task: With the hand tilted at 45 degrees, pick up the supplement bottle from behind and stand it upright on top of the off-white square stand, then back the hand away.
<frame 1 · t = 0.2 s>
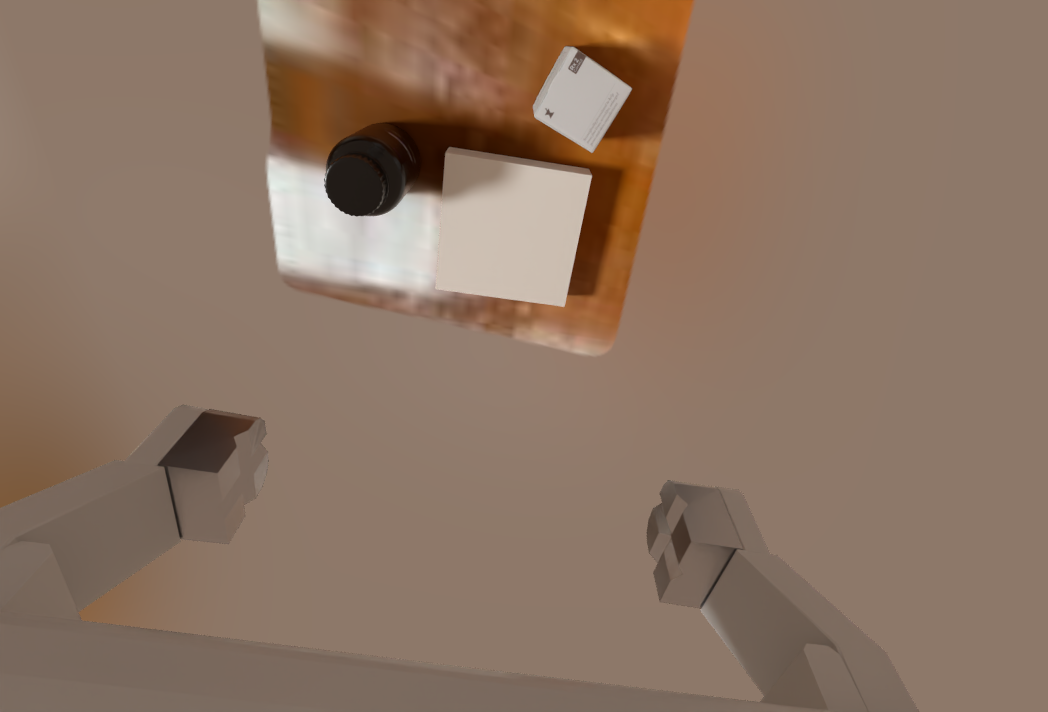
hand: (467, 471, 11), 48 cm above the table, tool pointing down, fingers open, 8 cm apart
skincare box: (575, 93, 51), on the table
supplement bottle: (387, 157, 54), on the table
stand: (509, 226, 57), on the table
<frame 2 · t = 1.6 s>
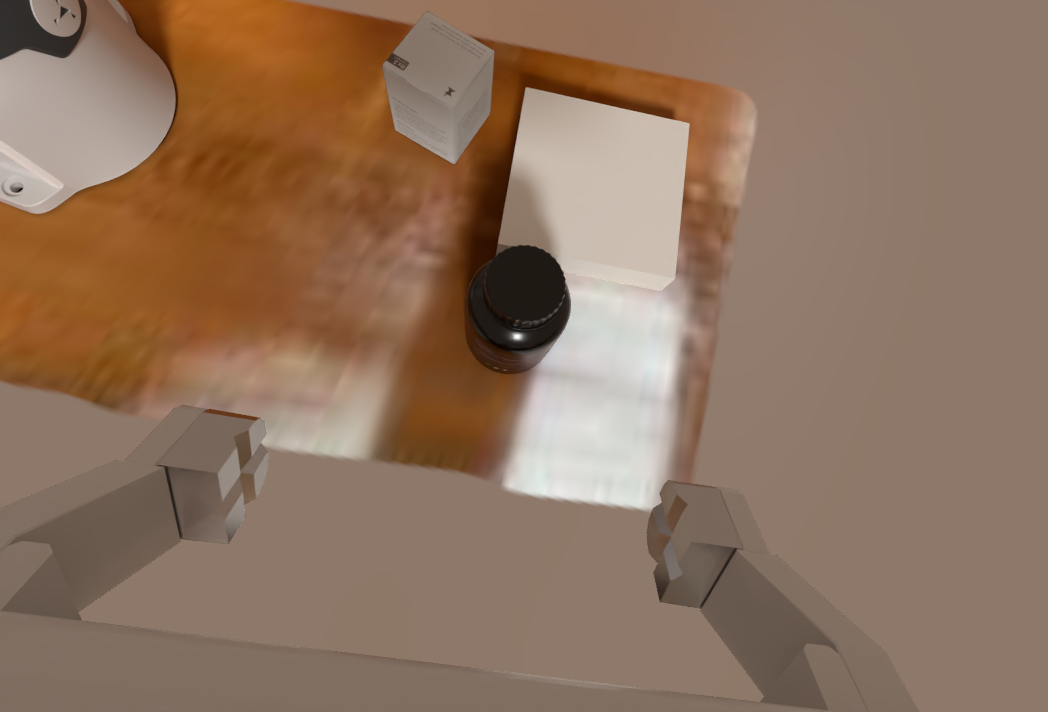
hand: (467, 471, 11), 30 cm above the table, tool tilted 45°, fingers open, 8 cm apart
skincare box: (442, 123, 46), on the table
supplement bottle: (507, 334, 43), on the table
stand: (589, 199, 46), on the table
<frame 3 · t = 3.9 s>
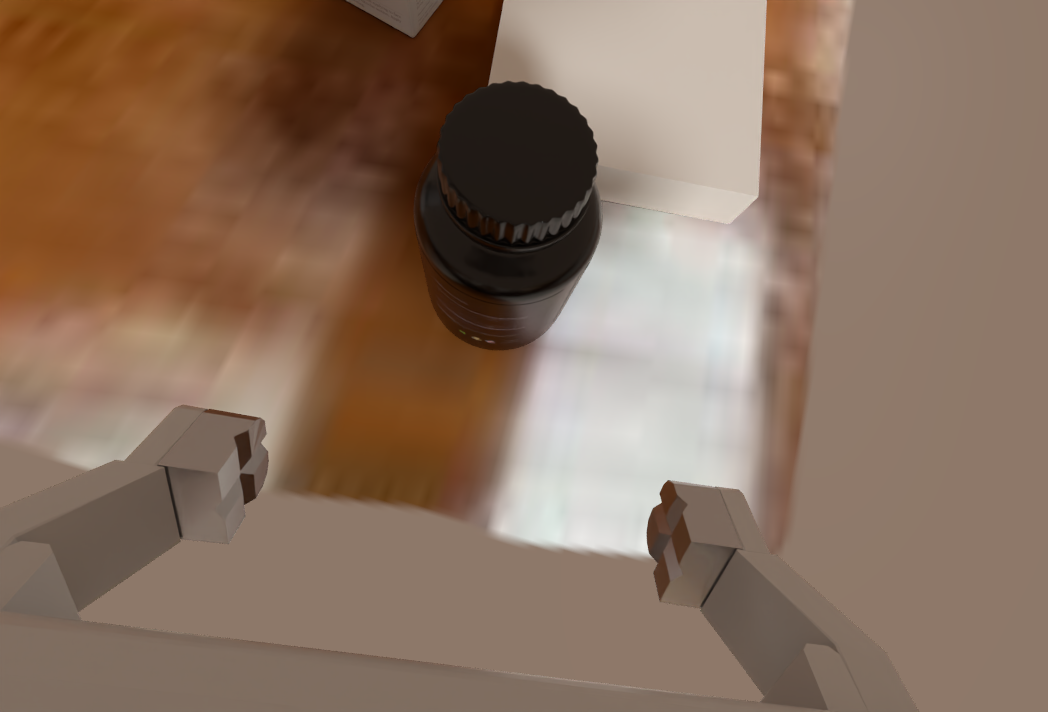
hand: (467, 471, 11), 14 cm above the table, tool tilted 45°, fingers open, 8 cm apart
supplement bottle: (495, 290, 27), on the table
stand: (617, 90, 31), on the table
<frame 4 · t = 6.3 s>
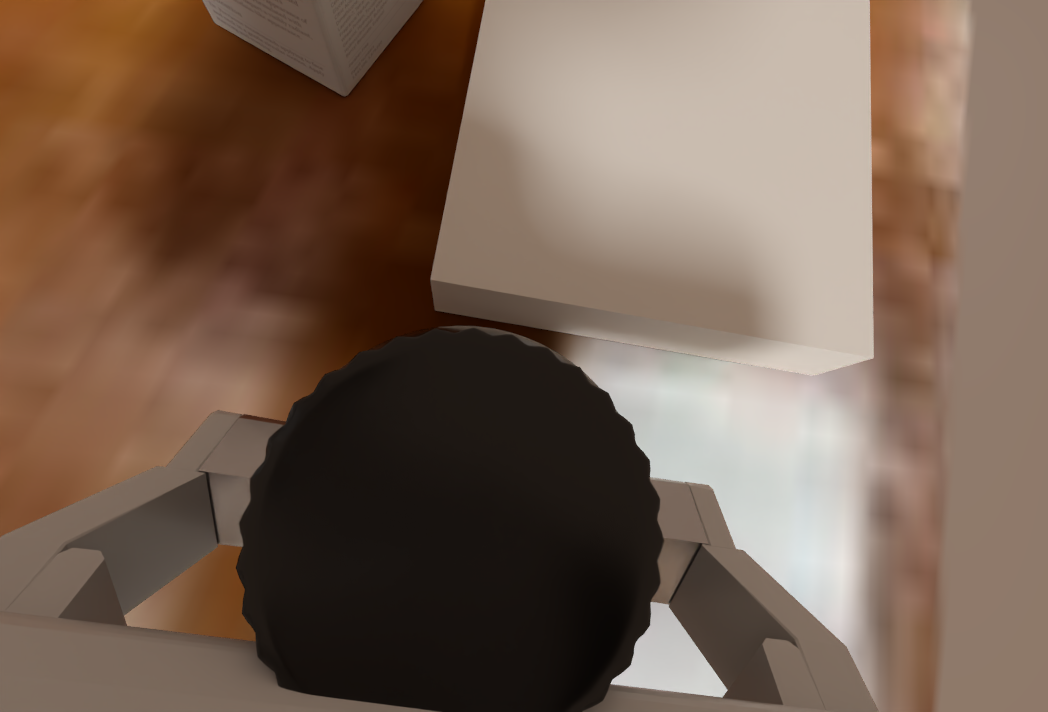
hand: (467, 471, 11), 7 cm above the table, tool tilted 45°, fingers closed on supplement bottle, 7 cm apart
skincare box: (324, 13, 21), on the table
supplement bottle: (462, 494, 18), on the table, touching gripper
stand: (646, 172, 21), on the table
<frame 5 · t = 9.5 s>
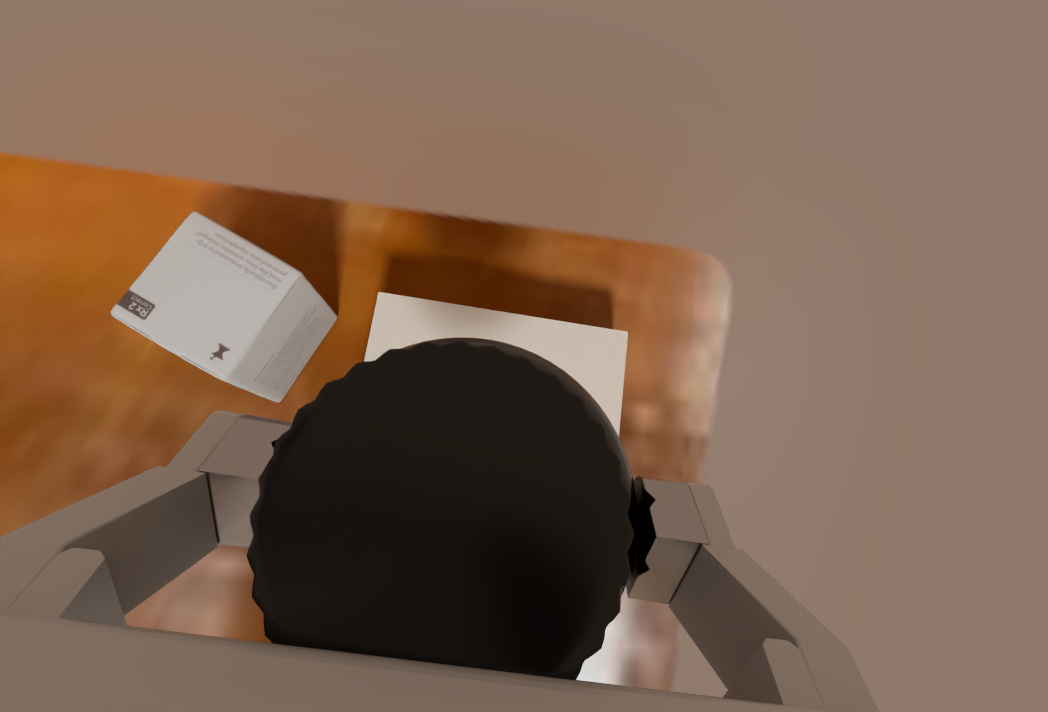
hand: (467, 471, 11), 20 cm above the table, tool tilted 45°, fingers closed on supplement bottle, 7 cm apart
skincare box: (266, 335, 31), on the table
supplement bottle: (472, 499, 18), point 13 cm above the table, touching gripper
stand: (484, 442, 31), on the table
when the fingers open (11 cm above the table, at t = 12.4 s): supplement bottle stays where it is, resting on stand.
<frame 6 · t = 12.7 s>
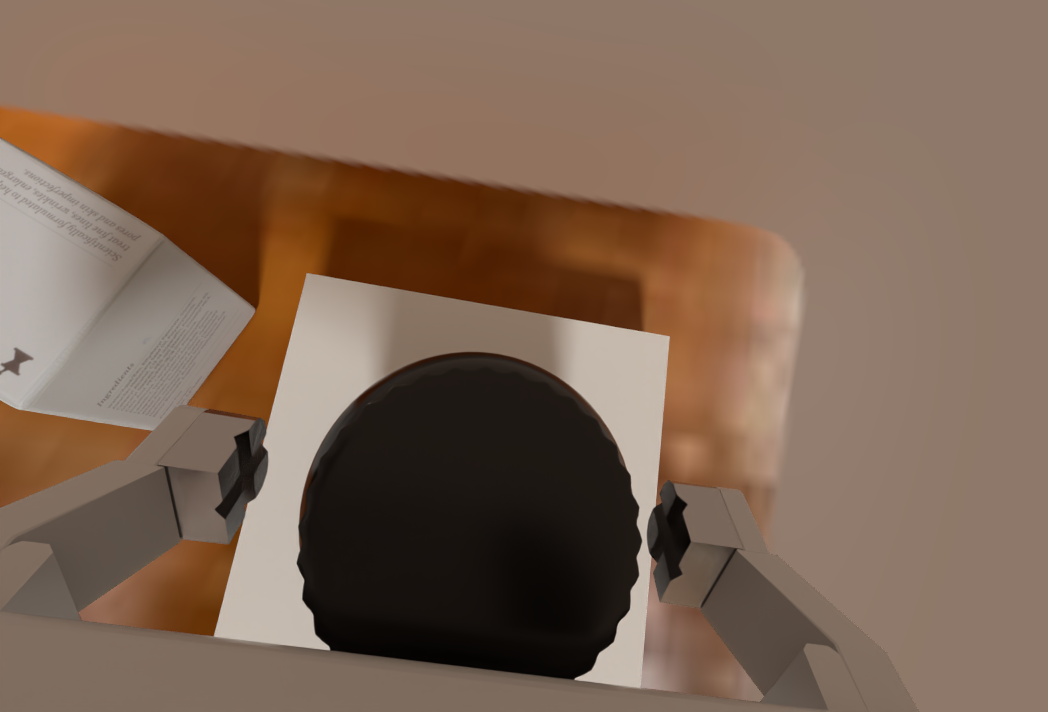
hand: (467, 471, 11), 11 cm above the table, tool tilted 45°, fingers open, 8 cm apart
skincare box: (154, 334, 22), on the table
supplement bottle: (467, 497, 19), point 3 cm above the table, touching stand
stand: (461, 490, 22), on the table
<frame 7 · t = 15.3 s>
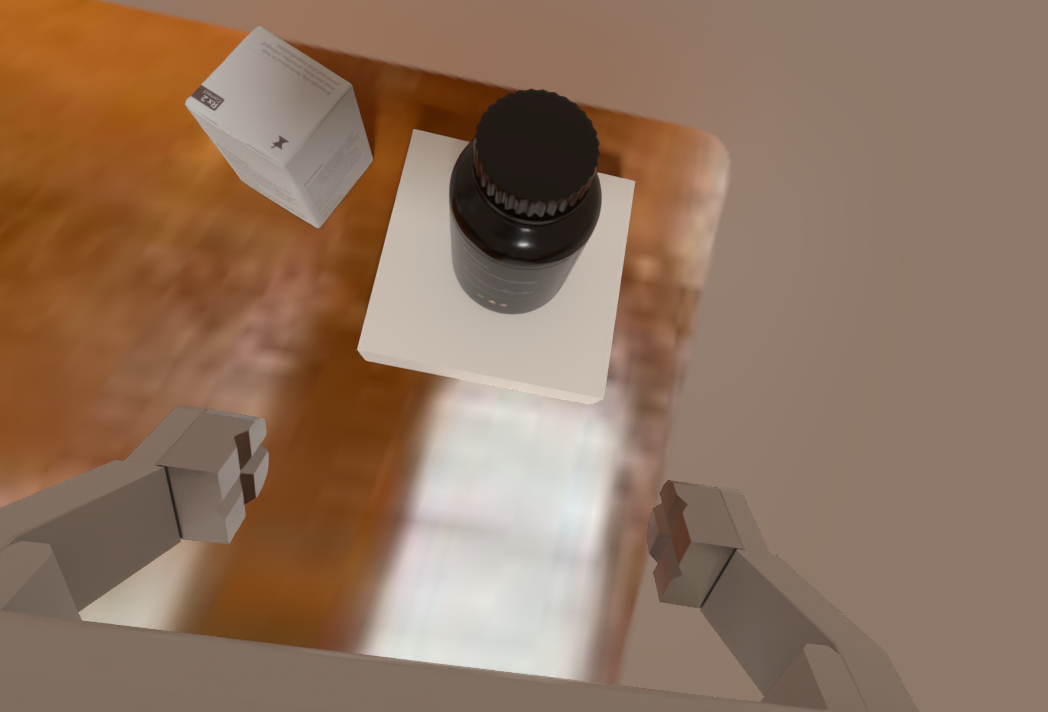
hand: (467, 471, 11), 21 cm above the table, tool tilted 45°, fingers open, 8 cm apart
skincare box: (308, 172, 35), on the table
supplement bottle: (508, 263, 32), point 3 cm above the table, touching stand
stand: (501, 277, 35), on the table
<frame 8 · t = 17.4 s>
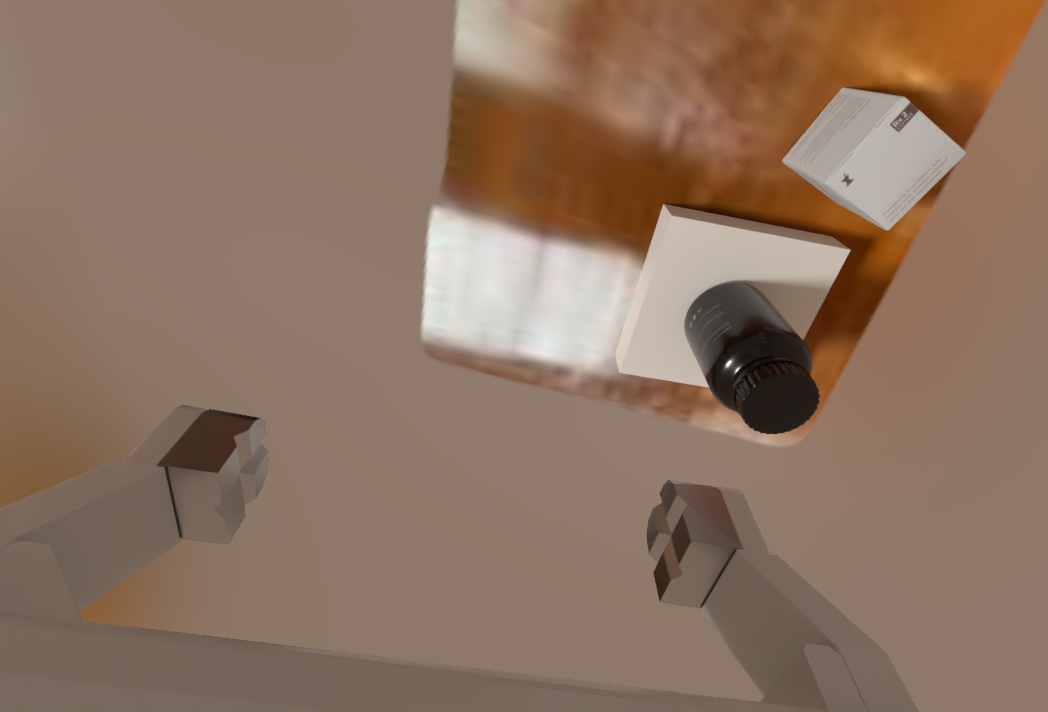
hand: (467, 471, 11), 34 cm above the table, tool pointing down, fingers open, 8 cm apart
skincare box: (837, 145, 40), on the table
supplement bottle: (723, 316, 44), point 3 cm above the table, touching stand
stand: (716, 299, 46), on the table
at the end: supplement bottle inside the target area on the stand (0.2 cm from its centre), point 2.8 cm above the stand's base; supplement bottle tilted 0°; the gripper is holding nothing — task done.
